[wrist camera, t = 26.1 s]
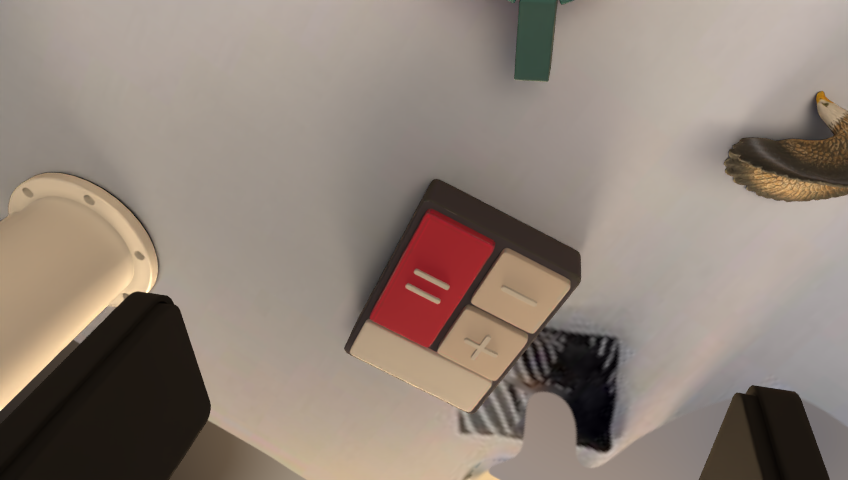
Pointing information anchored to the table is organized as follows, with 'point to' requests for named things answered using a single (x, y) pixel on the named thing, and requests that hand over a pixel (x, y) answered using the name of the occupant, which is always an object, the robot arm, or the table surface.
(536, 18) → the teal ring
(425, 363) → the calculator
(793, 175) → the eagle figurine
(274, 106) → the table surface
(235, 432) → the table surface
